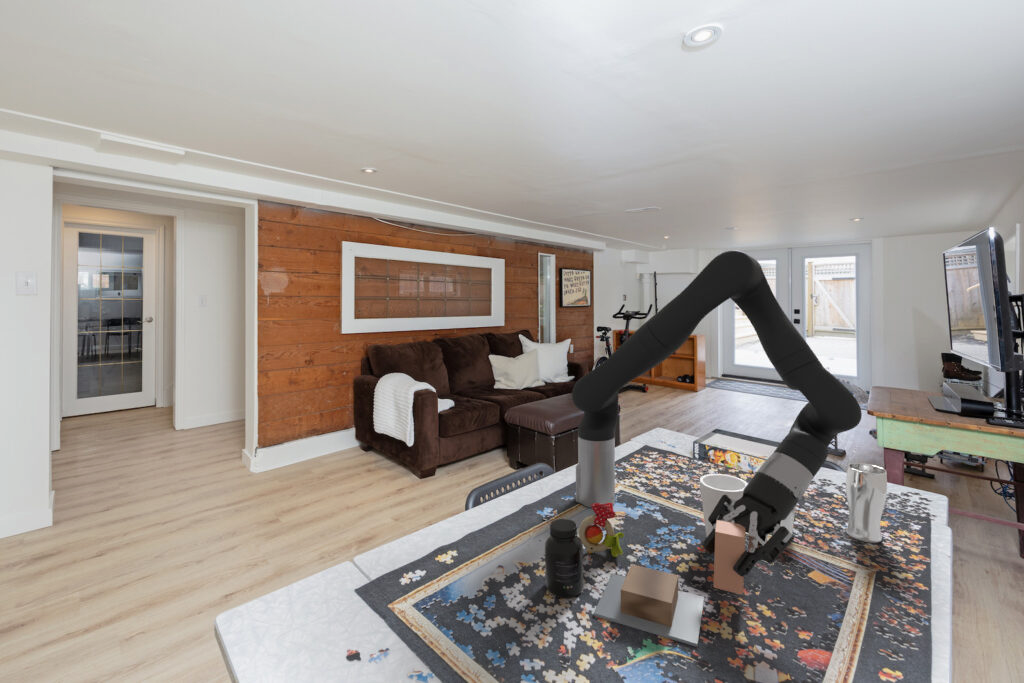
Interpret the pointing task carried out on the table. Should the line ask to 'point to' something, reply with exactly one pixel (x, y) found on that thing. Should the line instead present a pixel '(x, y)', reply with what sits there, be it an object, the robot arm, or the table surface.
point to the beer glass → (865, 500)
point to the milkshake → (789, 521)
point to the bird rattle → (600, 530)
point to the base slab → (650, 595)
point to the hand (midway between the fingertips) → (721, 561)
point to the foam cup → (718, 493)
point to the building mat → (682, 625)
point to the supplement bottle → (564, 559)
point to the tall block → (728, 556)
